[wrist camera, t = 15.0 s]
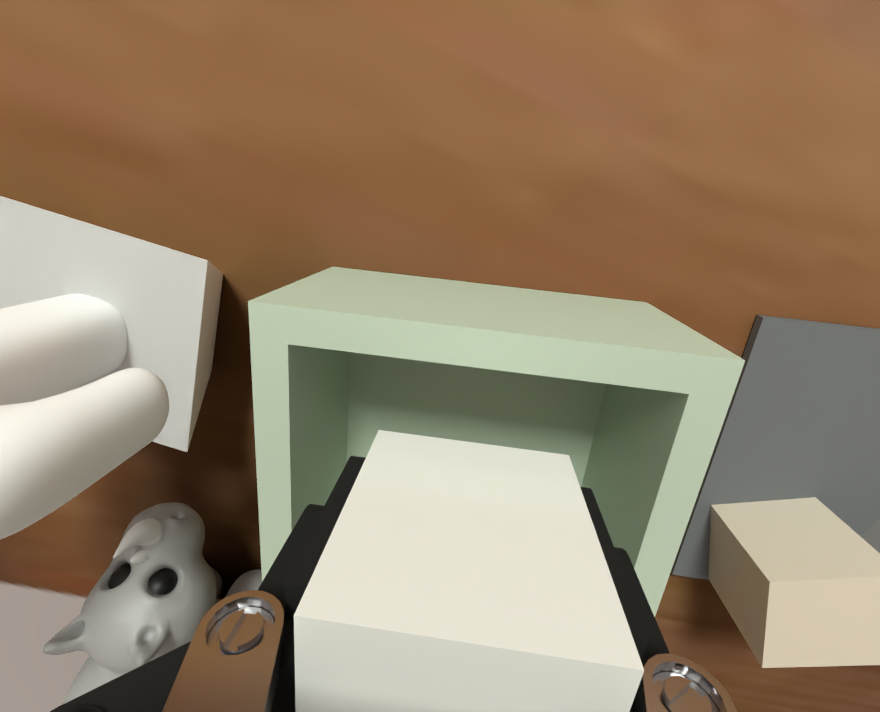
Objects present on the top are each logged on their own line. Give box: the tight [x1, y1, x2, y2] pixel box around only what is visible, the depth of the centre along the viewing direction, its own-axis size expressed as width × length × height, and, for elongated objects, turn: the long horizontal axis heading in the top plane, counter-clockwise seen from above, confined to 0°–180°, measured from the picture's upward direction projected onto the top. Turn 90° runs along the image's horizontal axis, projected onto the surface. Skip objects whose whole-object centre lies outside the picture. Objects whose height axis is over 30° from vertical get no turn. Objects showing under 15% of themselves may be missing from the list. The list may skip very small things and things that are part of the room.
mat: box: [671, 315, 880, 580], centre depth 18 cm, size 12×12×1 cm
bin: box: [248, 267, 745, 617], centre depth 17 cm, size 12×20×6 cm, turn 174°
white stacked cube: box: [294, 430, 644, 712], centre depth 9 cm, size 4×4×5 cm
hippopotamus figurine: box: [43, 502, 262, 704], centre depth 18 cm, size 8×12×9 cm, turn 176°
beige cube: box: [708, 497, 880, 668], centre depth 17 cm, size 4×4×4 cm
